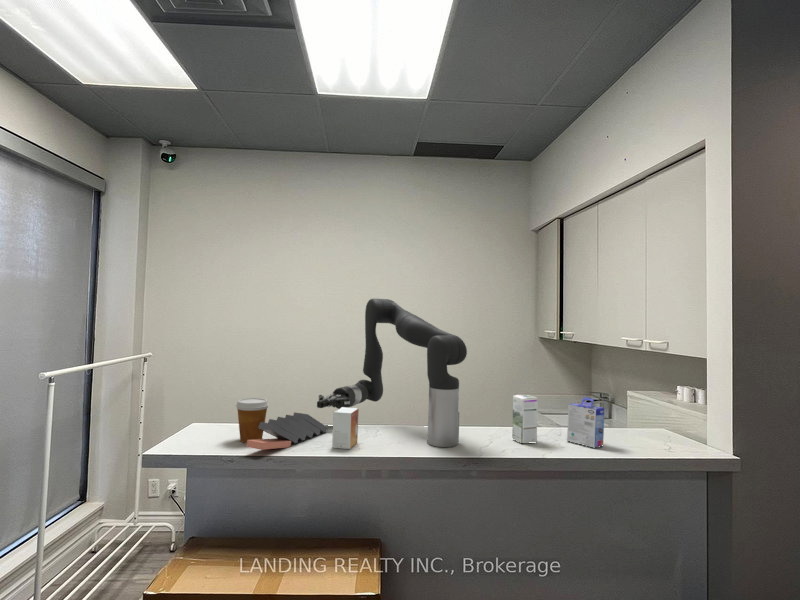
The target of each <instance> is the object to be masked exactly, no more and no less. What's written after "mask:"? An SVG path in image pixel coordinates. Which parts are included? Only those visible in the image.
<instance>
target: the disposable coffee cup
mask: <svg viewBox="0 0 800 600" xmlns="http://www.w3.org/2000/svg"><path fill="white" fill-rule="evenodd" d="M269 406H270V404H269V402H268V399H266V398H261V397H245V398H241V399H238V400H237V402H236V404H235V407H236V409H237V418H238V419H237V421H238V430H239V439H240V440H239V441H240V442H241V443H244V444H247V440H256V439H263V436H264V431H263V430H261V429H259V428H258V427H259V424H260V422H264V423H266V418H267V411H268V407H269Z"/></svg>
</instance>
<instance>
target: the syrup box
mask: <svg viewBox="0 0 800 600" xmlns="http://www.w3.org/2000/svg"><path fill="white" fill-rule="evenodd" d="M512 438H513V439H515V440H517V441H519V442H521V443H529V442H537V443H538V397H536V396H533V395H532V396H531V395H528V394H517V395H515V394H514V395H513V396H512ZM521 443H520V444H521Z"/></svg>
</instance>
